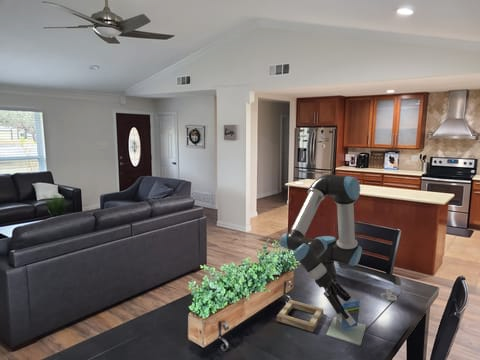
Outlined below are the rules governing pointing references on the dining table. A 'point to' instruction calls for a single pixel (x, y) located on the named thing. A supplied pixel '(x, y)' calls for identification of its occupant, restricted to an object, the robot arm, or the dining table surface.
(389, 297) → the teacup and saucer
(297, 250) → the robot arm
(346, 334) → the sage board
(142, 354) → the dining table surface
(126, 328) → the dining table surface
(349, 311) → the label tape box
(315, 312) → the oak socket frame
